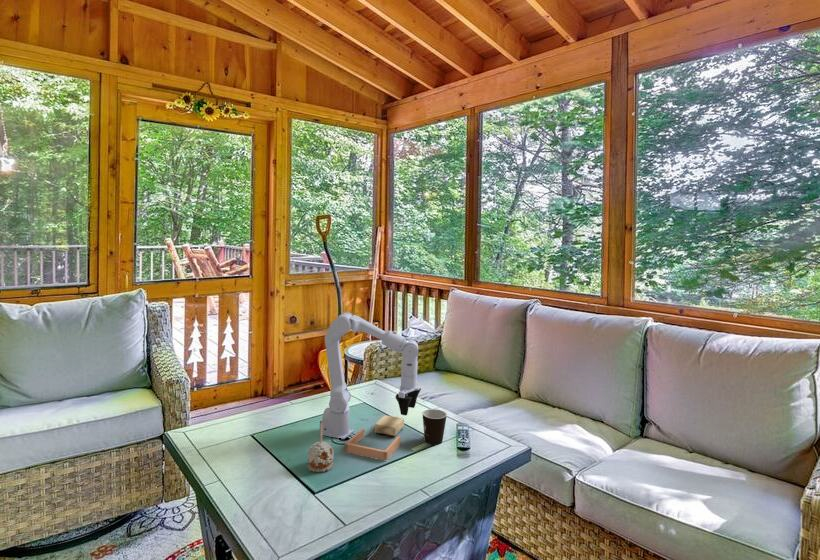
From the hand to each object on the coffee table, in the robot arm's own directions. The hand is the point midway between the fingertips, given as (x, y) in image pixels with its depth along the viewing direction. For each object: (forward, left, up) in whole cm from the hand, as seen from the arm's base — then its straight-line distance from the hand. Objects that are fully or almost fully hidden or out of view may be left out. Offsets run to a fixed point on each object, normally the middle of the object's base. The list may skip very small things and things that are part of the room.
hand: (407, 410), depth 165 cm
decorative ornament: (-17, -31, -10) cm, 37 cm away
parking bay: (-7, -12, -10) cm, 17 cm away
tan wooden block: (-7, +2, -10) cm, 12 cm away
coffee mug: (+10, +3, -10) cm, 14 cm away
